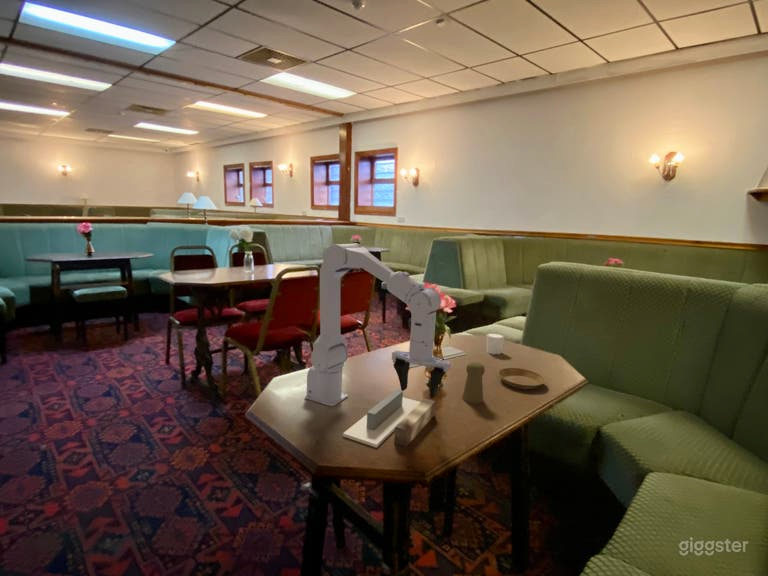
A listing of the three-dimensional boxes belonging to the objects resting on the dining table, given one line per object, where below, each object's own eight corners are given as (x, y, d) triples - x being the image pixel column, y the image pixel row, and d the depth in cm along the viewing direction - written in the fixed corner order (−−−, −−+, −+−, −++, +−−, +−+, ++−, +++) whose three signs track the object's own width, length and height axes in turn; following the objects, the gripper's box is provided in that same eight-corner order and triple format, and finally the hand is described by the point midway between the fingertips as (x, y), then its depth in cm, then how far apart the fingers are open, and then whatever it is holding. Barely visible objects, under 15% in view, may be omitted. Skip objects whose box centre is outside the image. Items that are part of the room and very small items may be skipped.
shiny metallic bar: (406, 447, 95) (407, 430, 95) (394, 443, 97) (395, 426, 96) (434, 415, 111) (435, 401, 110) (423, 412, 112) (424, 398, 112)
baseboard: (469, 357, 162) (450, 350, 170) (469, 350, 162) (450, 343, 169) (410, 371, 144) (392, 362, 151) (411, 363, 143) (392, 355, 151)
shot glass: (486, 354, 165) (488, 337, 163) (483, 348, 171) (485, 332, 170) (504, 355, 164) (506, 338, 163) (500, 350, 171) (501, 333, 170)
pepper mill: (486, 398, 123) (489, 363, 121) (478, 405, 118) (482, 369, 117) (467, 393, 127) (470, 358, 125) (458, 399, 122) (461, 363, 120)
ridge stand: (342, 436, 98) (343, 416, 97) (391, 396, 121) (392, 380, 120) (376, 447, 94) (377, 427, 93) (420, 404, 117) (421, 387, 116)
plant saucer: (551, 384, 138) (552, 376, 138) (534, 397, 127) (535, 389, 127) (508, 371, 148) (509, 364, 147) (489, 382, 137) (490, 375, 136)
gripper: (387, 337, 100) (384, 391, 102) (445, 349, 93) (440, 406, 96) (400, 331, 106) (396, 382, 108) (455, 341, 99) (450, 395, 102)
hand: (418, 393), depth 102 cm, fingers open, 7 cm apart
